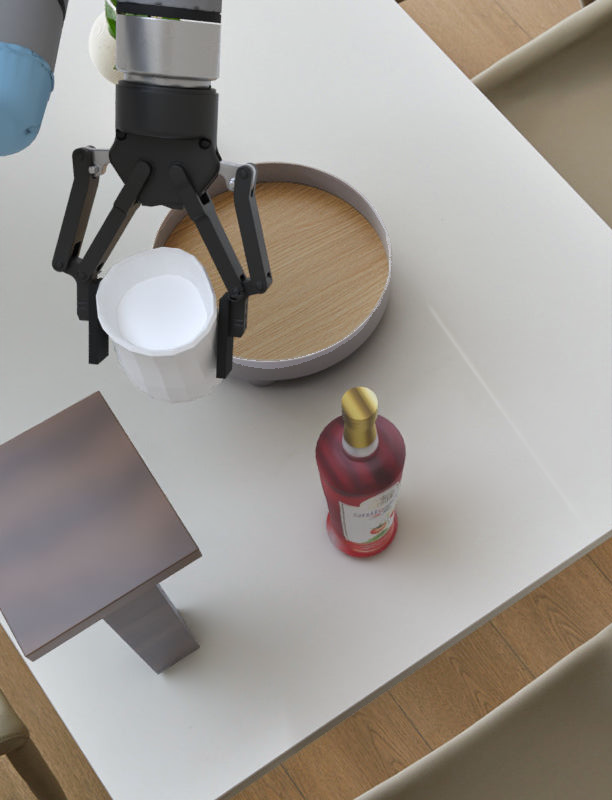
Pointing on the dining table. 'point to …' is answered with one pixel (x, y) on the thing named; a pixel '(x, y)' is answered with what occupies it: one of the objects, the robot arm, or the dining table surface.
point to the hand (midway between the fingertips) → (161, 366)
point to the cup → (162, 323)
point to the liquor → (361, 475)
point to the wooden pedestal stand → (88, 538)
